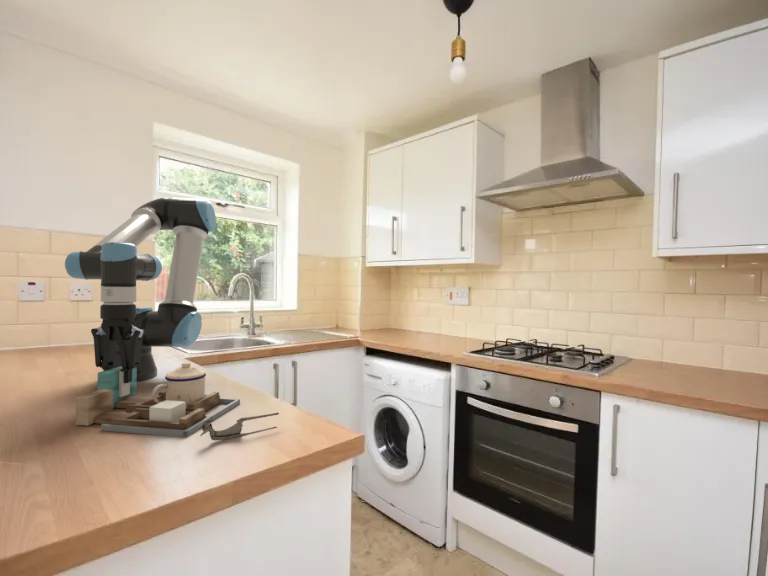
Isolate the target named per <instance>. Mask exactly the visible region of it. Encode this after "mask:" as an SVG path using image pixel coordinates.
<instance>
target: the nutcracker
mask: <svg viewBox="0 0 768 576" xmlns="http://www.w3.org/2000/svg"><path fill="white" fill-rule="evenodd" d="M279 414H280V412H273V413H269V414H262V415H256V416H254V415H253V416H247V417H240V418H239V419H236V423H234V424H233V425H231V426H229V427H227V428H225V429H221V430H215V429H214V428H213V424H212V423H211V422H210V420H208V421H205V422H204V423H203V424H202V426H201V428H200V429H201V431H202V433H201V434H200V437H202V436H203V435H206V434H207V433H208V432H209V433H208V434H209V437H210V439H211V440H212V441H214V442H215V441H227V440H230V439H231V440H232V439H235V438H240V437H244V436H248V435H252V434H257V433H260V432H264V431H268V430H273V429H276V428H278V427H277V426H273V427H268V428H263V429H259V430H255V431H251V432H245V433H242V429H243V428H242V427H243V426H244V425H243V423H244V422H245V421H250V420H251V421H252V420H255V419H256V420H257V419H261V418H266V417H272V416H278V415H279ZM209 422H210V423H209Z"/></svg>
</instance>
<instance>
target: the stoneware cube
mask: <svg viewBox="0 0 768 576" xmlns="http://www.w3.org/2000/svg"><path fill="white" fill-rule="evenodd" d="M162 401H163V402H160V403H158V404H157V403H156V404H153V405H151V407H149V418H148V419H149V421H163V422H176V423H179V419H180V418H182V417H184V416H185V415H186V402H184V401H169V400H162Z"/></svg>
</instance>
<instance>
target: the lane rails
mask: <svg viewBox="0 0 768 576" xmlns="http://www.w3.org/2000/svg"><path fill="white" fill-rule="evenodd" d="M222 403H226V404H225V406H223V407H222V408H220V409H218V410H216V411H215V412H213V413H211V414H209V415H206V414H205V418H204V419H203V420H201V421H199V422H198V423H196V424H194V425H193V426H191V427H189V428H188V429H186V430H177V429H164V428H151V427H138V426H125V425H112V424H100V431H101V432H102V431H105V432H117V433H130V434H141V435H155V436H165V437H166V436H168V437H180V438H181V437H184V438H187V437H189V436H191V435H192V434H194V433H195V432H197V431H198V430H200V429H202V428H201V426H202V424H203V423H204V422H205V421H208V420H210V422H209V423H208V424H210V423H211V422H213V421H215V420H216V419H218V418H220V417H221V416H223V415H224V414H226V413H227V412H229V411H231V410H232V409H234V408H236V407H237V406H239V405H241V400H240V398H239V399H238V398H224V397H220V403H219V404H222ZM235 406H236V407H235ZM133 412H135V411H133Z"/></svg>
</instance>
